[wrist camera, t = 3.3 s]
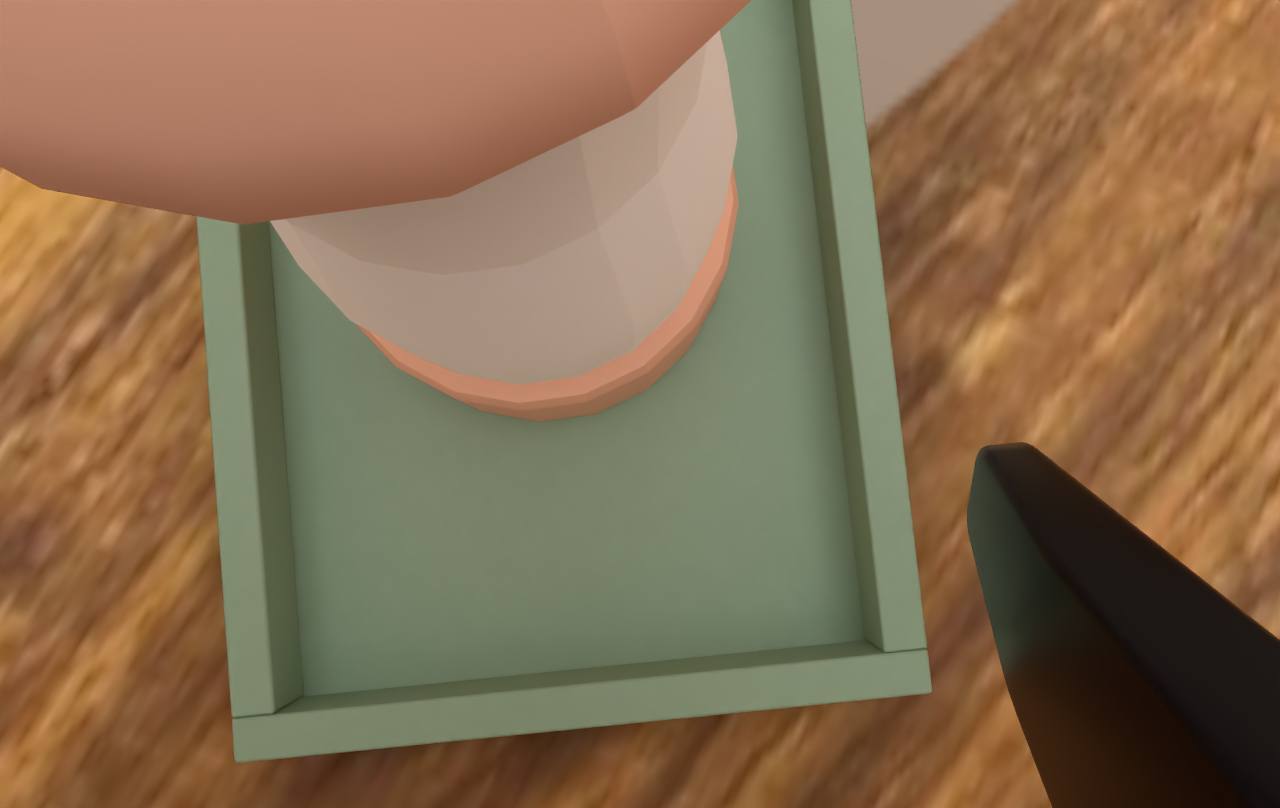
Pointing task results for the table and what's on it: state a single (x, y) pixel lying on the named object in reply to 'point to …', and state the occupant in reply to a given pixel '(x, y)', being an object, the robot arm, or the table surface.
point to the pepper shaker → (418, 165)
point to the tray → (581, 479)
